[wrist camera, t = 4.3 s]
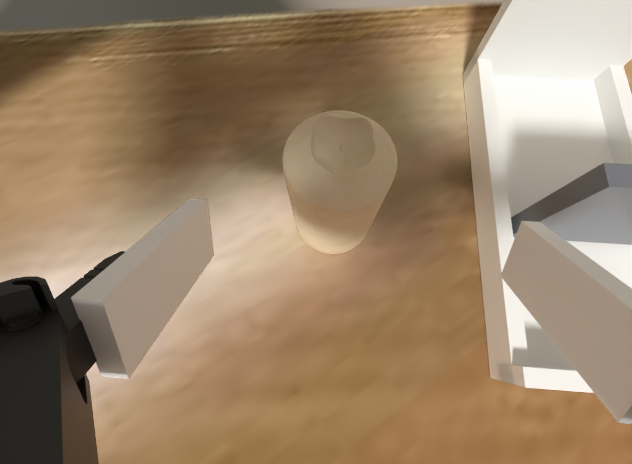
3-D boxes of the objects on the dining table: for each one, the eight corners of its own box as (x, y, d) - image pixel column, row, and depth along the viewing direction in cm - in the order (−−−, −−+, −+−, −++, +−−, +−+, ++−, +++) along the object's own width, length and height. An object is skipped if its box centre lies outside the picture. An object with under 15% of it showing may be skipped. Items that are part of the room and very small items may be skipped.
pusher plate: (508, 237, 21) (609, 186, 14) (506, 220, 21) (603, 162, 14) (632, 244, 21) (803, 198, 13) (628, 228, 21) (792, 173, 14)
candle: (280, 214, 23) (253, 132, 14) (336, 172, 24) (347, 68, 15) (327, 270, 22) (334, 224, 12) (385, 223, 23) (432, 146, 13)
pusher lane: (490, 377, 20) (623, 414, 11) (462, 74, 27) (530, -47, 18) (670, 391, 19) (952, 440, 11) (593, 80, 27) (724, -40, 18)
